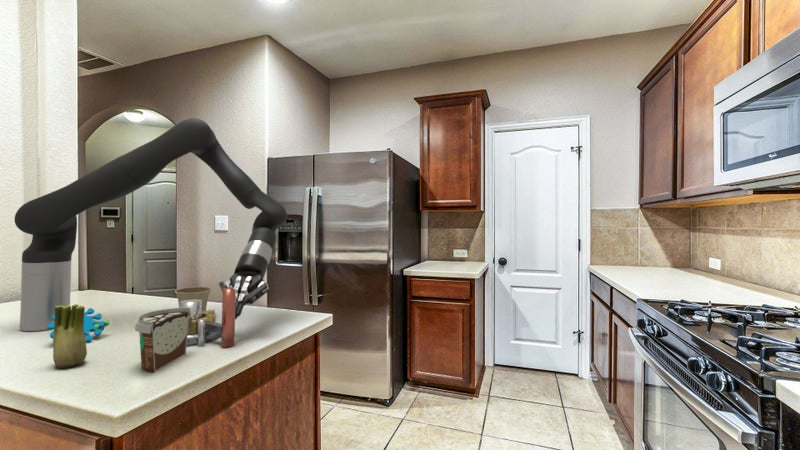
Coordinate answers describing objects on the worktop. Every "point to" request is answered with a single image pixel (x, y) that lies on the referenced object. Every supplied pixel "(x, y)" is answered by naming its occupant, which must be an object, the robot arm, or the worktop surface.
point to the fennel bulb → (69, 336)
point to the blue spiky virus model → (87, 325)
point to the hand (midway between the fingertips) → (232, 317)
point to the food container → (162, 337)
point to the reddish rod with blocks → (227, 319)
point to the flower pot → (194, 295)
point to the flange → (202, 336)
